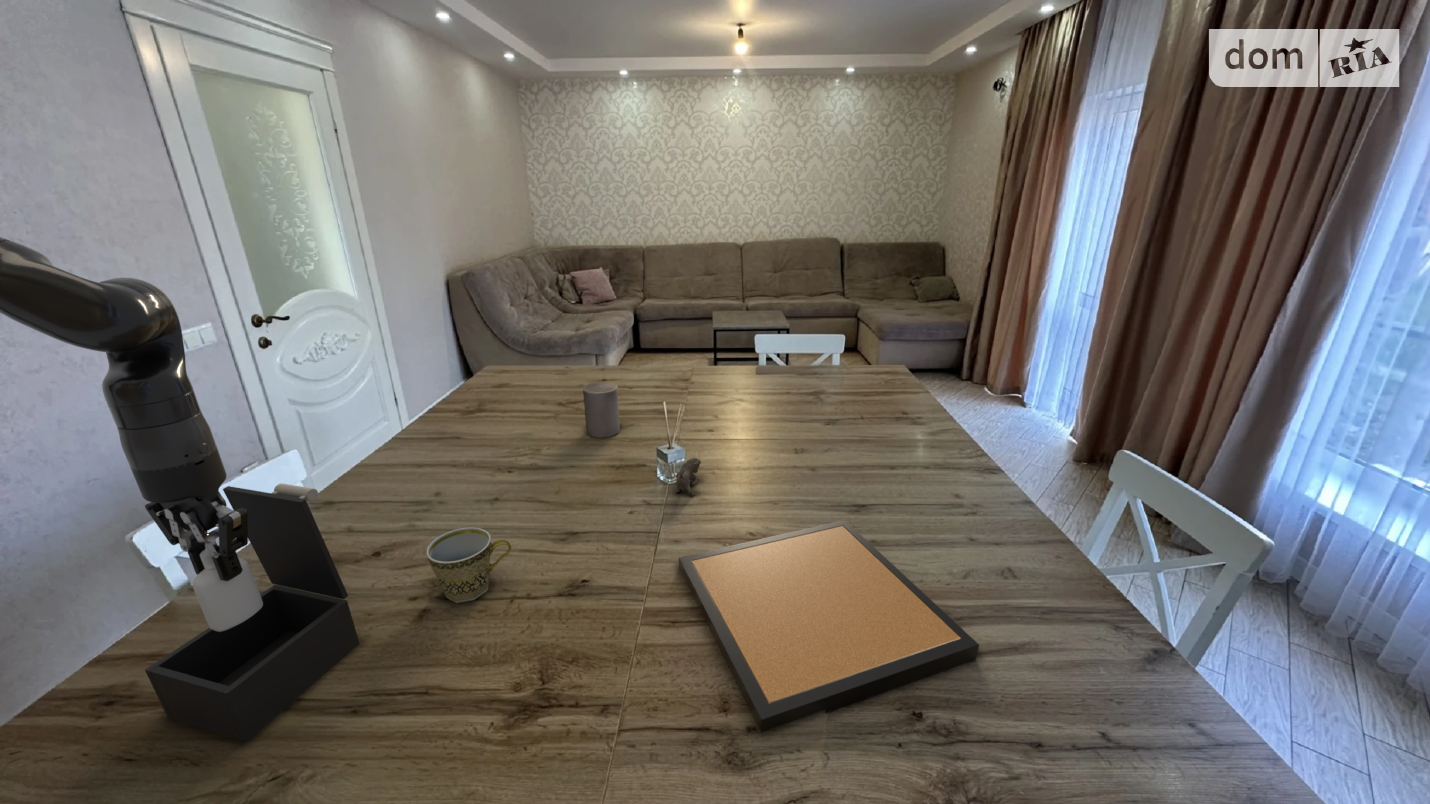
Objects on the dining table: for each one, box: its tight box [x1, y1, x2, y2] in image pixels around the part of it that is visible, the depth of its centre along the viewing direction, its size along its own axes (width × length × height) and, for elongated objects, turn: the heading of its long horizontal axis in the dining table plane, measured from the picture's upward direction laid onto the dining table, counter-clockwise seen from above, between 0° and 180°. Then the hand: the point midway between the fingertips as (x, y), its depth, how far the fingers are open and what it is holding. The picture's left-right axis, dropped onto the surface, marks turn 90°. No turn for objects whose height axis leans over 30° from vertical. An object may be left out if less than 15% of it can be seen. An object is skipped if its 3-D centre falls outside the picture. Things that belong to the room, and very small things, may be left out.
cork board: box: [678, 519, 980, 733], centre depth 91 cm, size 36×3×35 cm
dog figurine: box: [675, 457, 702, 497], centre depth 129 cm, size 12×6×7 cm, turn 167°
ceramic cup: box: [425, 527, 512, 604], centre depth 94 cm, size 13×10×10 cm
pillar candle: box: [582, 381, 621, 439], centre depth 158 cm, size 10×10×15 cm
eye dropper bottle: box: [191, 544, 263, 632], centre depth 71 cm, size 4×6×12 cm
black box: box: [144, 584, 360, 743], centre depth 77 cm, size 17×14×9 cm
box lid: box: [222, 482, 349, 600], centre depth 81 cm, size 18×14×5 cm
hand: (220, 573), depth 71 cm, fingers closed on eye dropper bottle, 3 cm apart
